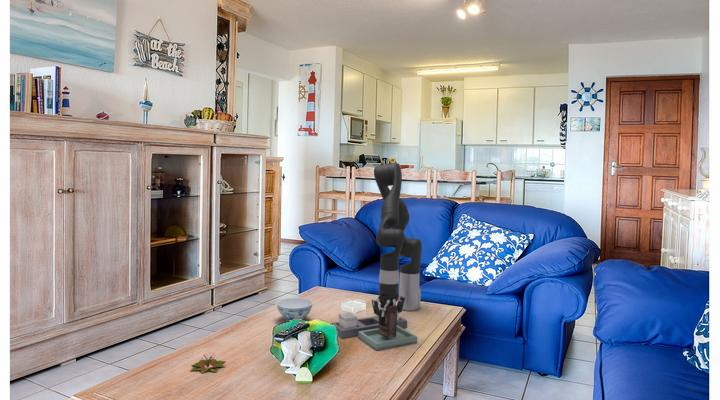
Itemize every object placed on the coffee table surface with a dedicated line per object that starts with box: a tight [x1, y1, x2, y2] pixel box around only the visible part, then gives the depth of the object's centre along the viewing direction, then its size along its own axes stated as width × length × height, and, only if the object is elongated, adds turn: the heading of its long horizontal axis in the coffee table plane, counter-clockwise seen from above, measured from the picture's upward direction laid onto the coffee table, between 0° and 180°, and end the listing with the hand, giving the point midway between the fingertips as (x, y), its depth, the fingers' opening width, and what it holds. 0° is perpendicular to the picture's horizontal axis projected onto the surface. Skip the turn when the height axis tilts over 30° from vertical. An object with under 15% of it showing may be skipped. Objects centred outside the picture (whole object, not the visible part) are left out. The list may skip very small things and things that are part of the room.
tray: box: [357, 325, 418, 351], centre depth 184 cm, size 18×14×2 cm
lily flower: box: [189, 352, 226, 374], centre depth 157 cm, size 12×12×5 cm
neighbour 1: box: [338, 312, 358, 329], centre depth 192 cm, size 5×6×7 cm
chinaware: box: [276, 297, 314, 322], centre depth 204 cm, size 15×15×8 cm
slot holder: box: [330, 315, 408, 340], centre depth 197 cm, size 30×10×3 cm, turn 119°
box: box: [378, 304, 397, 339], centre depth 184 cm, size 6×4×12 cm
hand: (387, 324), depth 184 cm, fingers closed on box, 4 cm apart
